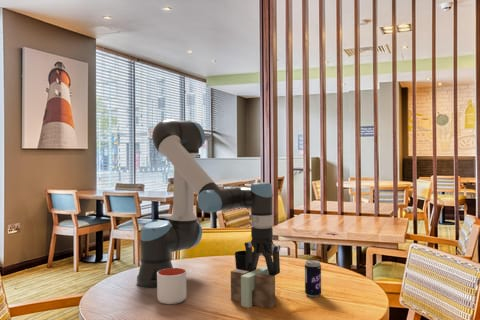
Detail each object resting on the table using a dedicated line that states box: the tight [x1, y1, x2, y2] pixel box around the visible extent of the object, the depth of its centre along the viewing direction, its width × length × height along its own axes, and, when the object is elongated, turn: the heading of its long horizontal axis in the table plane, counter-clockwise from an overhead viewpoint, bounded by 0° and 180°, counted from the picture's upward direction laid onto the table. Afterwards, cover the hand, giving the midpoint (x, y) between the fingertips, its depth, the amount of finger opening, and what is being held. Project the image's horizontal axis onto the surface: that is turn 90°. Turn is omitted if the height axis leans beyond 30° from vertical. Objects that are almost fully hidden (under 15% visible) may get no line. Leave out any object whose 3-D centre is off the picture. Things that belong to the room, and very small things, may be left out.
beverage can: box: [304, 259, 322, 298], centre depth 149 cm, size 6×6×12 cm
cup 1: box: [156, 267, 187, 305], centre depth 146 cm, size 10×10×10 cm
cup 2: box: [234, 250, 253, 272], centre depth 164 cm, size 8×8×12 cm
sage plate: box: [240, 264, 269, 308], centre depth 145 cm, size 16×3×10 cm, turn 145°
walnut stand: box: [230, 268, 276, 310], centre depth 142 cm, size 16×3×10 cm, turn 55°
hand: (262, 292), depth 148 cm, fingers open, 5 cm apart
